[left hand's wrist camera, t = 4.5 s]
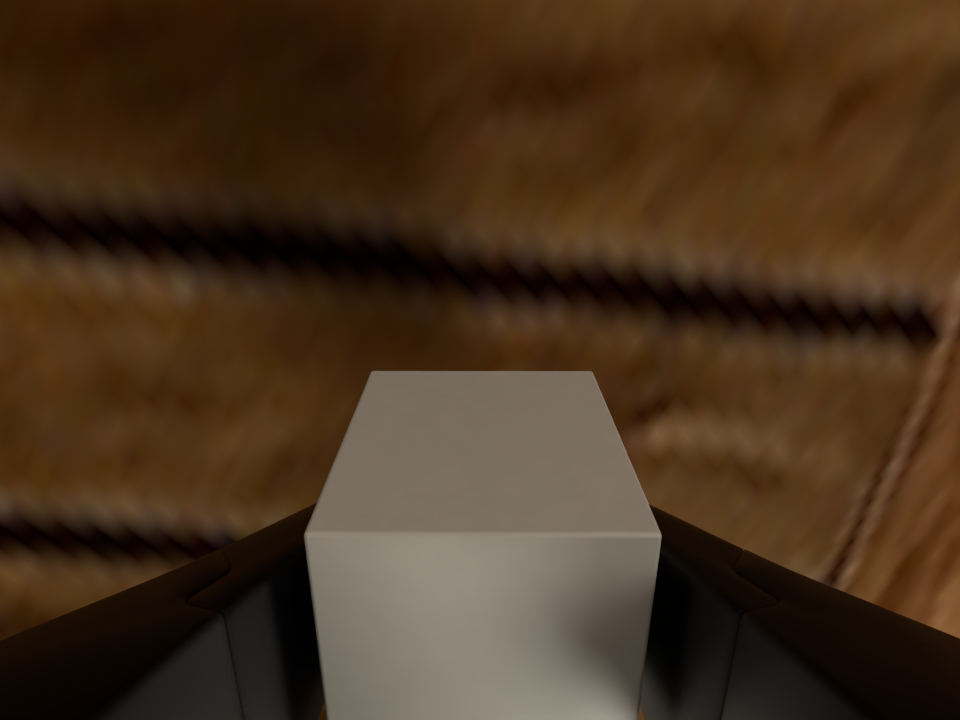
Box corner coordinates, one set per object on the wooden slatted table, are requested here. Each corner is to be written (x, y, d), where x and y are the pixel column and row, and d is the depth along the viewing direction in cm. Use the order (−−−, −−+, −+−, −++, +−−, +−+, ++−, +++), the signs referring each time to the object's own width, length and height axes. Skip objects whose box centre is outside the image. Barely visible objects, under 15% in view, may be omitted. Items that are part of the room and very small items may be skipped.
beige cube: (384, 577, 14) (336, 813, 9) (370, 369, 12) (301, 534, 7) (577, 577, 14) (626, 814, 9) (592, 370, 12) (663, 535, 7)
